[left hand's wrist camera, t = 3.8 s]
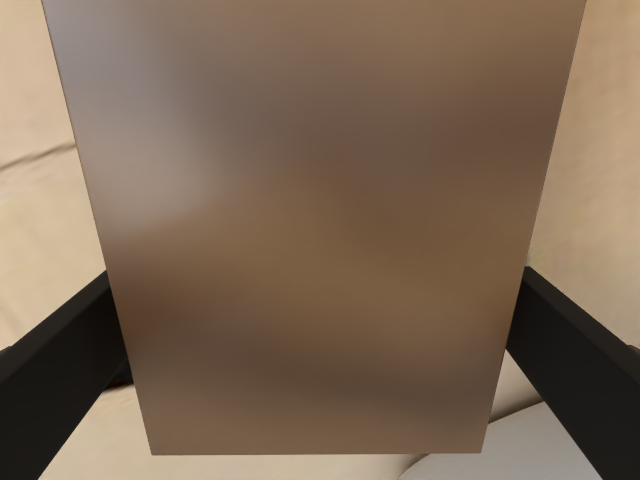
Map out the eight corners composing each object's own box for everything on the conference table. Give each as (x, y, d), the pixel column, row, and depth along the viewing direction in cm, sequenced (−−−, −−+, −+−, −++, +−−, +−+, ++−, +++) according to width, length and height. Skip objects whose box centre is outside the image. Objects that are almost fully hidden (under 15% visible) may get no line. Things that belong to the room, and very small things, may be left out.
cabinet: (189, -175, 14) (-218, -1050, 3) (441, -174, 14) (829, -1033, 3) (234, 277, 22) (150, 456, 11) (399, 277, 22) (481, 454, 11)
